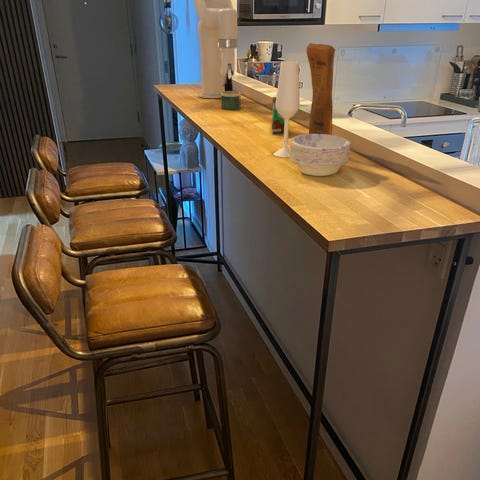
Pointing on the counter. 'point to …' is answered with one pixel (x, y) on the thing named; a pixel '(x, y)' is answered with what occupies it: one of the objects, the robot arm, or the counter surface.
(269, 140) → the counter surface
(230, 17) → the robot arm
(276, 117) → the food container
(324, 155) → the paper bowls
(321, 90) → the pancake mix bag
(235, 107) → the teal cup
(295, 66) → the champagne flute
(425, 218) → the counter surface
